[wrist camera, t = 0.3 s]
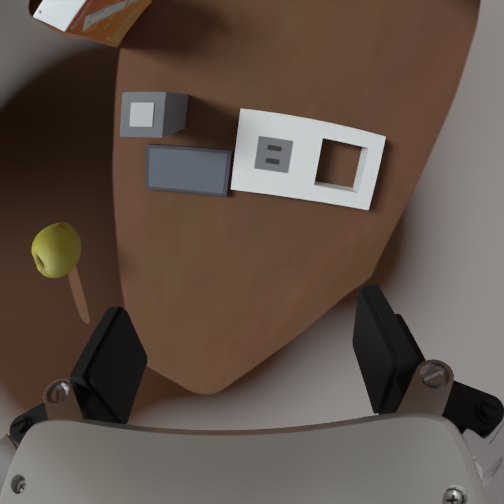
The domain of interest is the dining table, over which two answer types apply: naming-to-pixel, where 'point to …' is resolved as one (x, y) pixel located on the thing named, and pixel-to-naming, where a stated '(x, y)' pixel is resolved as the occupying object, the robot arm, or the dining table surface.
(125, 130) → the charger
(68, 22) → the small box
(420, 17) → the dining table surface
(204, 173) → the phone
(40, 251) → the apple
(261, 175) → the outlet plate
